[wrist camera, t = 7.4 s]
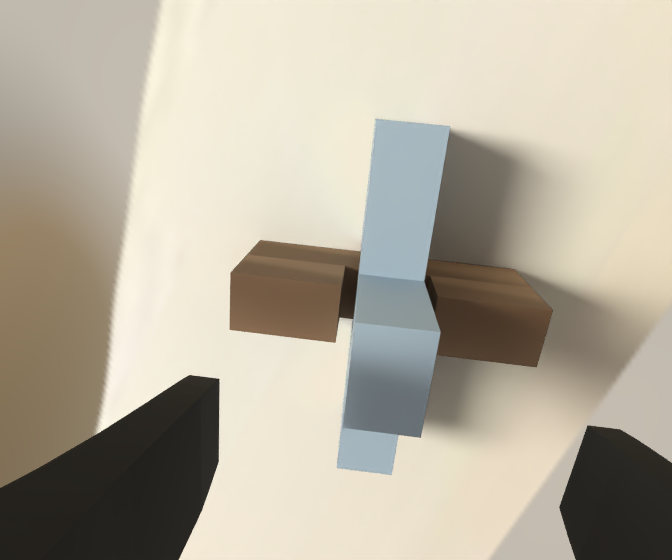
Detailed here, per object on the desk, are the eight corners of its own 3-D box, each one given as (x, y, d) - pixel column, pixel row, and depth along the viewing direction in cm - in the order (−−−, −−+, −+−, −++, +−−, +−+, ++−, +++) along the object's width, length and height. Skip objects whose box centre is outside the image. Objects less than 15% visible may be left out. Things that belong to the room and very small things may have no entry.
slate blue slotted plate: (387, 408, 20) (396, 564, 13) (343, 403, 20) (328, 555, 13) (431, 124, 16) (479, 128, 9) (375, 119, 16) (378, 119, 9)
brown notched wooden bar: (502, 316, 18) (536, 367, 14) (258, 287, 19) (229, 329, 15) (514, 269, 18) (553, 310, 14) (260, 240, 18) (230, 272, 14)
